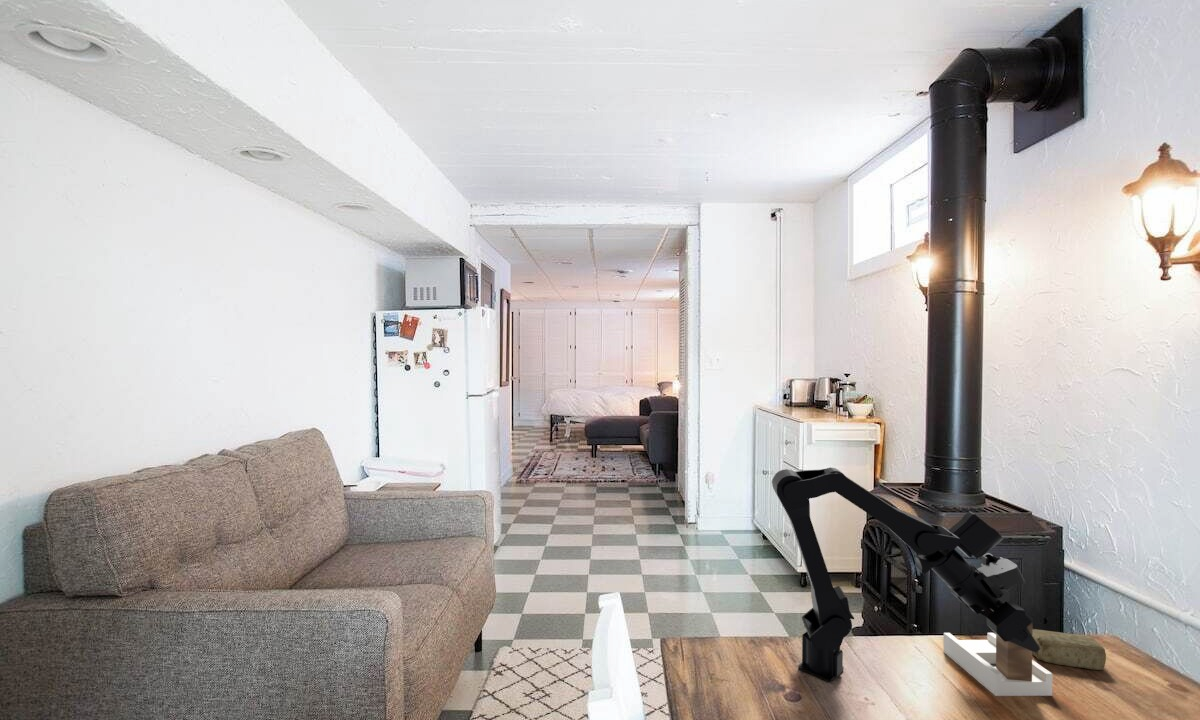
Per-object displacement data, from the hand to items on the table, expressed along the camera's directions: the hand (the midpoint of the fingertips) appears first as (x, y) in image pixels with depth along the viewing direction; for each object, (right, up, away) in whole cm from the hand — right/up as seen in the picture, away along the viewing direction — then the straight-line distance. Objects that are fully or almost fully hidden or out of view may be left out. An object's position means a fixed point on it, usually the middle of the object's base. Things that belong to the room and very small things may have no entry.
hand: (1022, 637), depth 103 cm
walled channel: (-1, -9, +5) cm, 11 cm away
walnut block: (-1, -7, 0) cm, 7 cm away
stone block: (+16, -10, +10) cm, 21 cm away
